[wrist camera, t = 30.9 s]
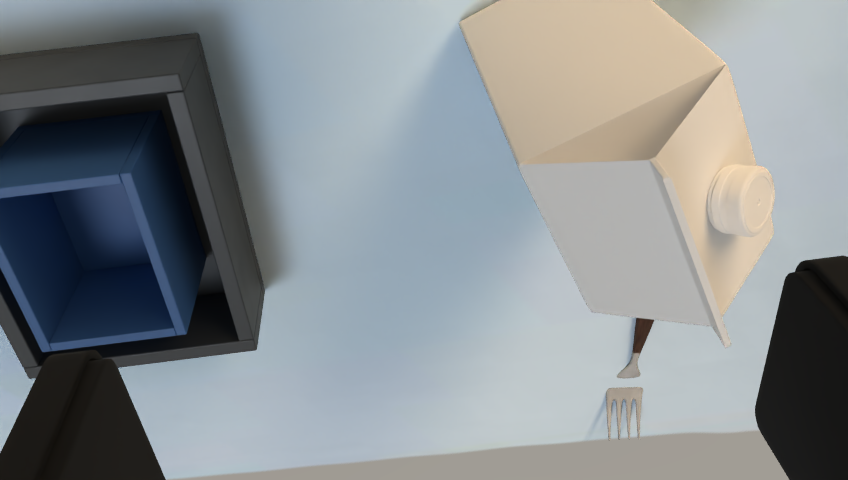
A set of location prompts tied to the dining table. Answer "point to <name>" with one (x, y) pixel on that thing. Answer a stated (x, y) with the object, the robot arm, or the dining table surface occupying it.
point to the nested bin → (98, 231)
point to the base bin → (199, 166)
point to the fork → (629, 372)
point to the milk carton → (628, 152)
